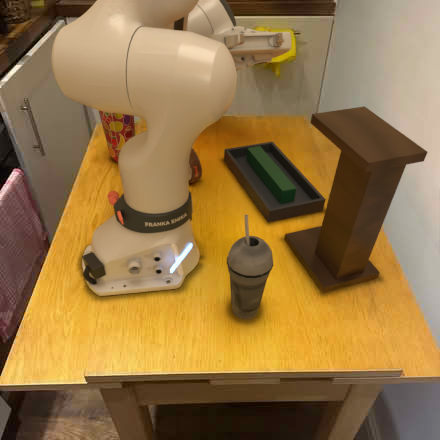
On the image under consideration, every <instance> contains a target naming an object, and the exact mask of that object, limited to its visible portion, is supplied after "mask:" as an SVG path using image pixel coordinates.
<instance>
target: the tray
mask: <svg viewBox="0 0 440 440" xmlns="http://www.w3.org/2000/svg"><path fill="white" fill-rule="evenodd" d="M257 146H260V147H261V148H262V149H263V150H264V151H265V152H266V154H267V155H268V156H269V157H270V158H271V159H272V160H273V162H274V163H275V164H276V165H277V166H278V167H279V169H280V170H281V171H282V172H283V173H284V174H285V176H286V177H287V178H288V179H289V180H290V181H291V182H292V184H293V185H294V186H295V187H296V194H295V199H294V201H293V202H288V203H283V204H280V203H279V201H278V200H277V199H276V198H275V196H274V195H273V194H272V193H271V191H270V190H269V189H268V187H267V186H266V185H265V184H264V182H263V181H262V180H261V179H260V177H259V176H258V175H257V173H256V172H255V171H254V170H253V168H252V167H251V166H250V165H249V163H248V162H247V148H251V147H257ZM223 161H224V163H225V164H226V165H227V167H228V169H229V170H231V173H232V174H233V175H234V177H235V178H236V180H237V181H238V182H239V184H240V185H241V186H242V188H243V189H244V191H245V192H246V193H247V195H248V196H249V198H250V199H251V200H252V203H254V205H255V206H256V208H257V209H258V211H259V212H260V213H261V215H262V216H263V218H264V219H265V221H266V222H267V223H272V222H278V221H282V220H285V219H286V220H288V219H291V218H296V217H300V216H301V217H302V216H305V215H310V214H314V213H320V212H323V211H324V208H325V203H326V200H327V199H326V198H325V197H324V196H323V194H322V193H321V192H320V191H319V190H318V189H317V188H316V187H315V186H314V185H313V183H311V182H310V181H309V179H308V178H307V177H306V176H305V175H304V174H303V172H301V170H299V168H298V167H297V166H296V165H295V164H294V163H293V162H292V161H291V160H290V158H288V156H287V155H286V154H285V153H284V152H283V151H282V150H281V149H280V148H279V147H278V145H276V143H275V142H274V141H267V142H261V143H253V144H248V145H242V146H236V147H229V148H223Z"/></svg>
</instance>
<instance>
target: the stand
mask: <svg viewBox="0 0 440 440" xmlns="http://www.w3.org/2000/svg"><path fill="white" fill-rule="evenodd" d="M310 124H311V125H312V126H313V127H314V128H315V129H317V130H318V131H319V132H320V133H321V134H322V135H323V136H324V137H325V138H326V139H328V140H329V141H330V142H331V143H332V144H333V145H334V146H335V147H337V148H338V149H339V150H340V152H339V153H340V154H339V157H338V161H337V165H336V168H335V172H334V177H333V181H332V185H331V188H330V192H329V195H328V199H327V203H326V208H325V211H324V215H323V219H322V222H321V225H319V226H315V227H311V228H310V227H309V228H306V229H301V230H295V231H292V232H287V233H285V234H284V242H285V243H286V244H287V245H288V247H289V248H290V249H291V251H292V253H293V254H294V255H295V256H296V258H297V259H298V261H299V262H300V264H301V265H302V267H303V268H304V269H305V271H306V272H307V273H308V274H309V276H310V278H311V280H313V282H314V283H315V284H316V286H317V288H318V289H319V290H320V292H321V293H328V292H332V291H335V290H339V289H341V288H342V289H343V288H346V287H350V286H354V285H358V284H361V283H364V282H368V281H372V280H375V279H378V278H379V276H380V274H381V272H380V271H379V270H378V269H377V267H376V266H375V265H374V264H373V262H372V261H370V258H371V255H372V252H373V250H374V248H375V245H376V242H377V240H378V237H379V235H380V232H381V230H382V227H383V224H384V222H385V220H386V217H387V214H388V212H389V209H390V207H391V204H392V202H393V199H394V197H395V194H396V192H397V189H398V187H399V184H400V183H401V182H400V181H401V179H402V177H403V174H404V171H405V169H406V167H407V165H411V164H417V163H422V162H424V161H425V159H426V157H427V155H428V153H429V151H427V150H426V149H424V148H423V147H421V146H420V145H419V144H418V143H416V142H415V141H413V140H412V139H410V138H409V137H408V136H407V135H405V134H404V133H402V132H401V131H399V130H398V129H397V128H395V127H394V126H393V125H391V124H390V123H389V122H387V121H385V120H384V119H383V118H381V117H380V116H379V115H377V114H376V113H374V111H371V110H370V109H369V108H368V107H366V106H358V107H352V108H344V109H337V110H329V111H325V112H324V111H323V112H315V113H312V114H311V118H310Z"/></svg>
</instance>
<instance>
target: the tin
mask: <svg viewBox="0 0 440 440" xmlns="http://www.w3.org/2000/svg"><path fill="white" fill-rule="evenodd" d="M202 167H203V166H202V164H201V160H200V158H199V155H198V153H197V152H196V151H195V149H194V148H193V147H192V149H191V153H190V158H189V184H191V183H194V182H196V181H200V180H201V179H202V177H203V168H202Z"/></svg>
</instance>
